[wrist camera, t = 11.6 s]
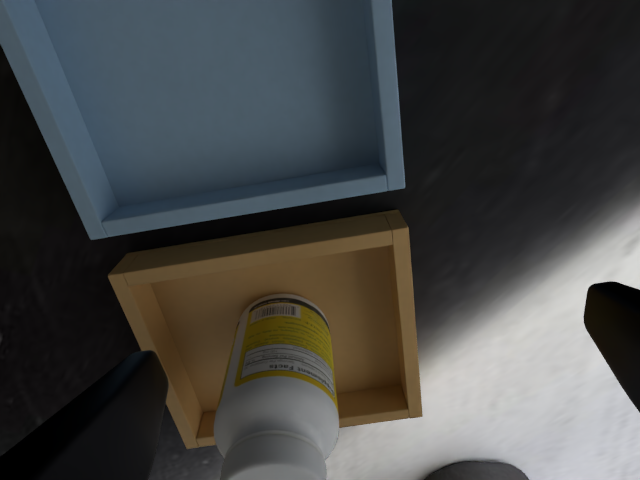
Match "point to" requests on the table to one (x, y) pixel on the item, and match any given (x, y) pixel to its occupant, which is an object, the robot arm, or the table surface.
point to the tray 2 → (280, 278)
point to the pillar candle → (478, 472)
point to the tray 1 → (208, 104)
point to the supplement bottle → (278, 394)
